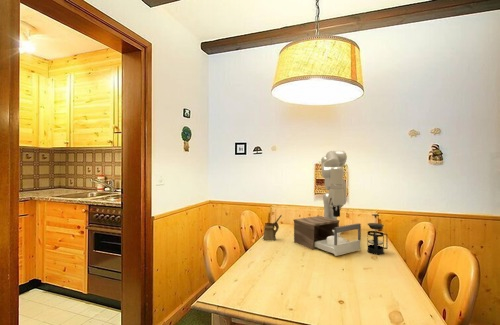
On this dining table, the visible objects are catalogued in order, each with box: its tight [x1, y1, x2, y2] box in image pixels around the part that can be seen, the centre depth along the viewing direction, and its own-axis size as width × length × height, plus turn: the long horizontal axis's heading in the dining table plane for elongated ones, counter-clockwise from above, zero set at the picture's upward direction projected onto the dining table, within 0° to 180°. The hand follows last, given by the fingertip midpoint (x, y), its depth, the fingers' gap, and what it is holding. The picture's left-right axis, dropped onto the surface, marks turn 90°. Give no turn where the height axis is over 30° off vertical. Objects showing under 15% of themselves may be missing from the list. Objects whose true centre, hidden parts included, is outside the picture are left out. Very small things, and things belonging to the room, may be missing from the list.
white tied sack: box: [327, 230, 347, 247], centre depth 166 cm, size 12×8×11 cm
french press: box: [366, 213, 388, 256], centre depth 161 cm, size 12×9×23 cm
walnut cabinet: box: [293, 215, 340, 250], centre depth 181 cm, size 25×18×16 cm
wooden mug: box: [262, 214, 282, 241], centre depth 189 cm, size 9×14×18 cm, turn 72°
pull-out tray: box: [315, 222, 362, 257], centre depth 165 cm, size 22×18×16 cm
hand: (336, 216), depth 166 cm, fingers closed
